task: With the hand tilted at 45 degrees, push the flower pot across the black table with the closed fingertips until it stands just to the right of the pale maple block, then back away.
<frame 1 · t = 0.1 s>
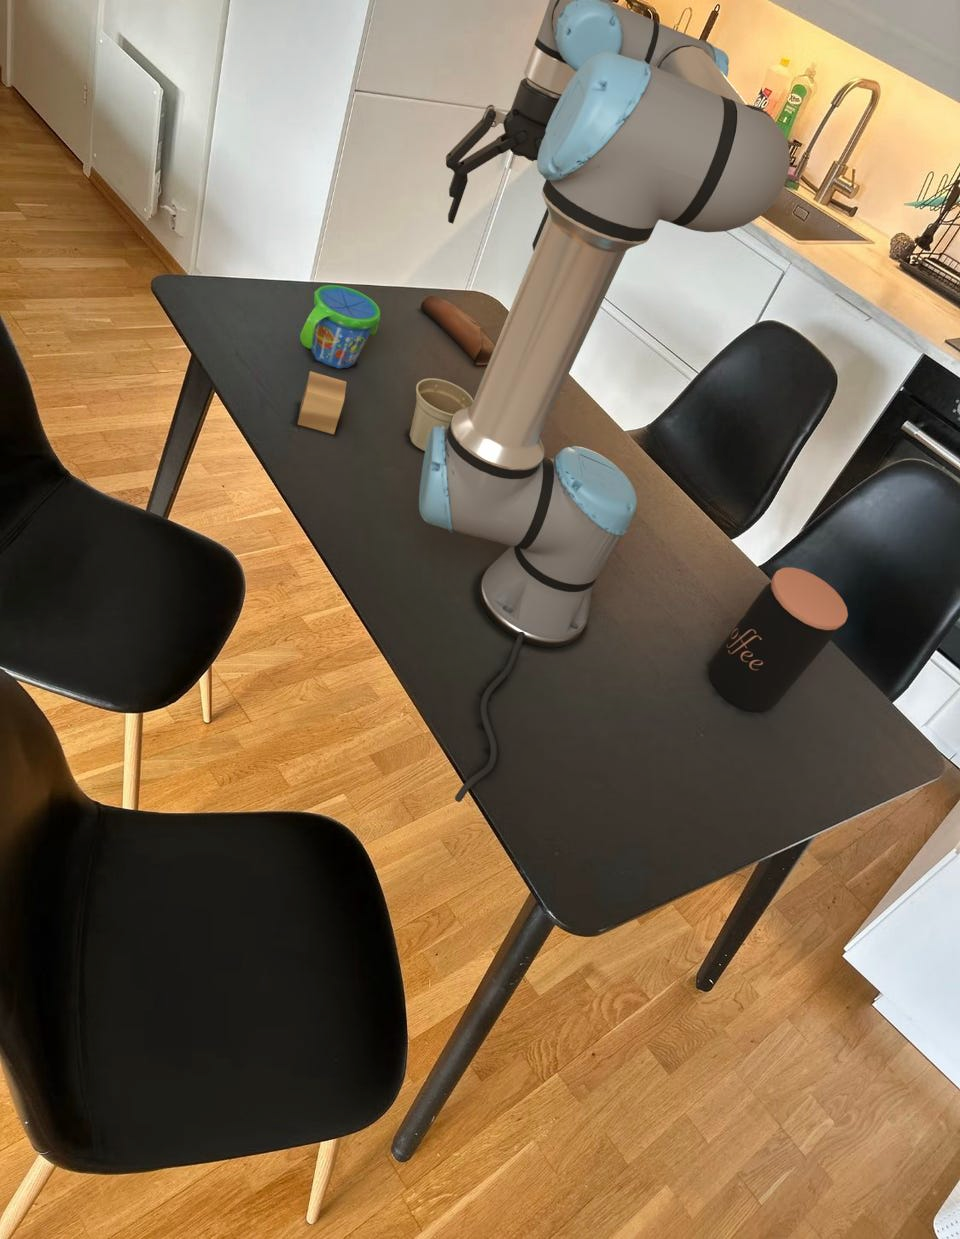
hand: (493, 234, 147), 28 cm above the table, tool pointing down, fingers open, 13 cm apart
flower pot: (428, 443, 153), on the table
sunglasses case: (461, 338, 182), on the table
snack cup: (332, 358, 161), on the table
coffee jar: (738, 687, 137), on the table
maple block: (317, 419, 147), on the table
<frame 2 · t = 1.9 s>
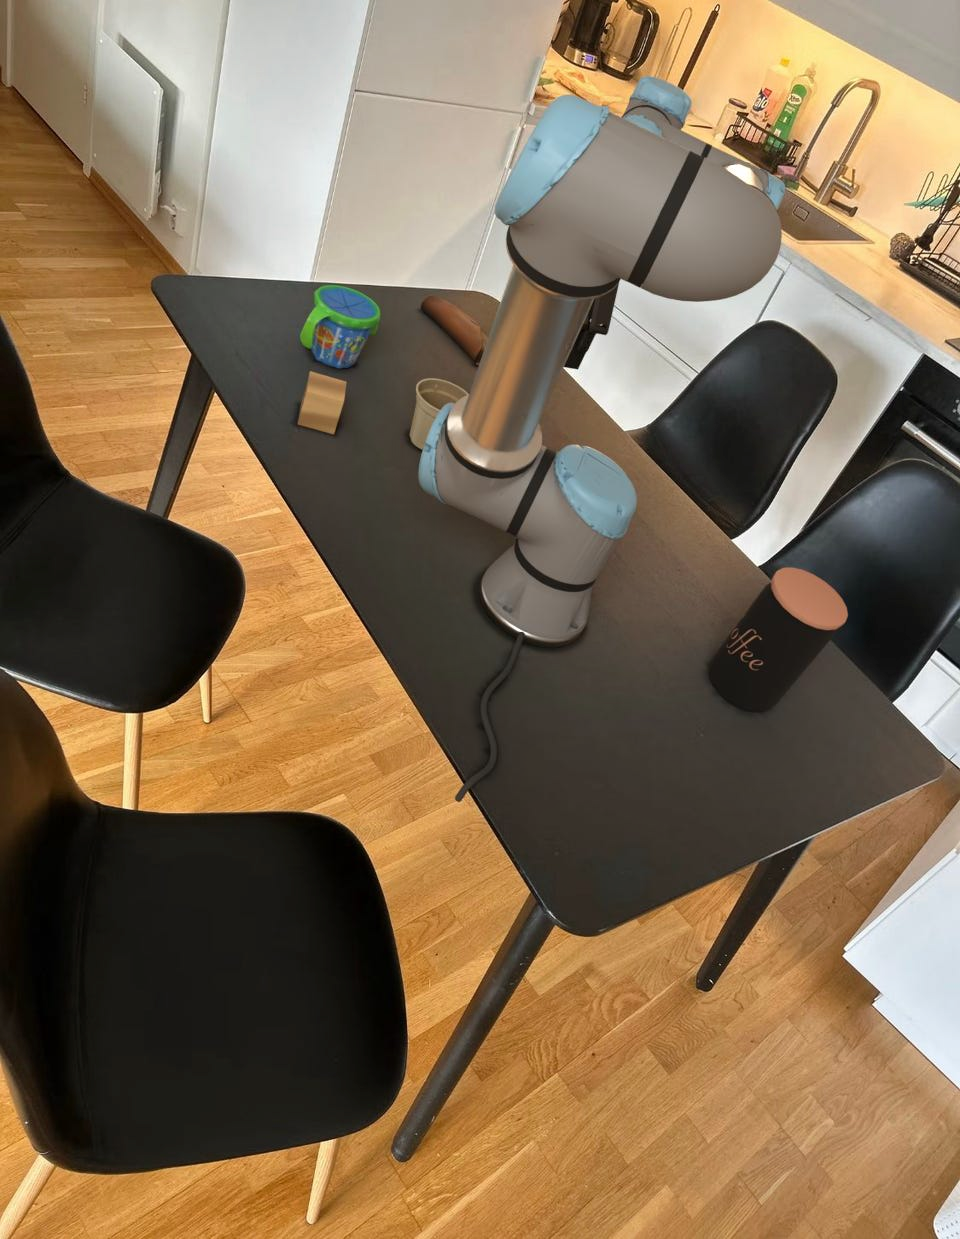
hand: (553, 342, 146), 20 cm above the table, tool pointing down, fingers open, 12 cm apart
nothing on the table moved.
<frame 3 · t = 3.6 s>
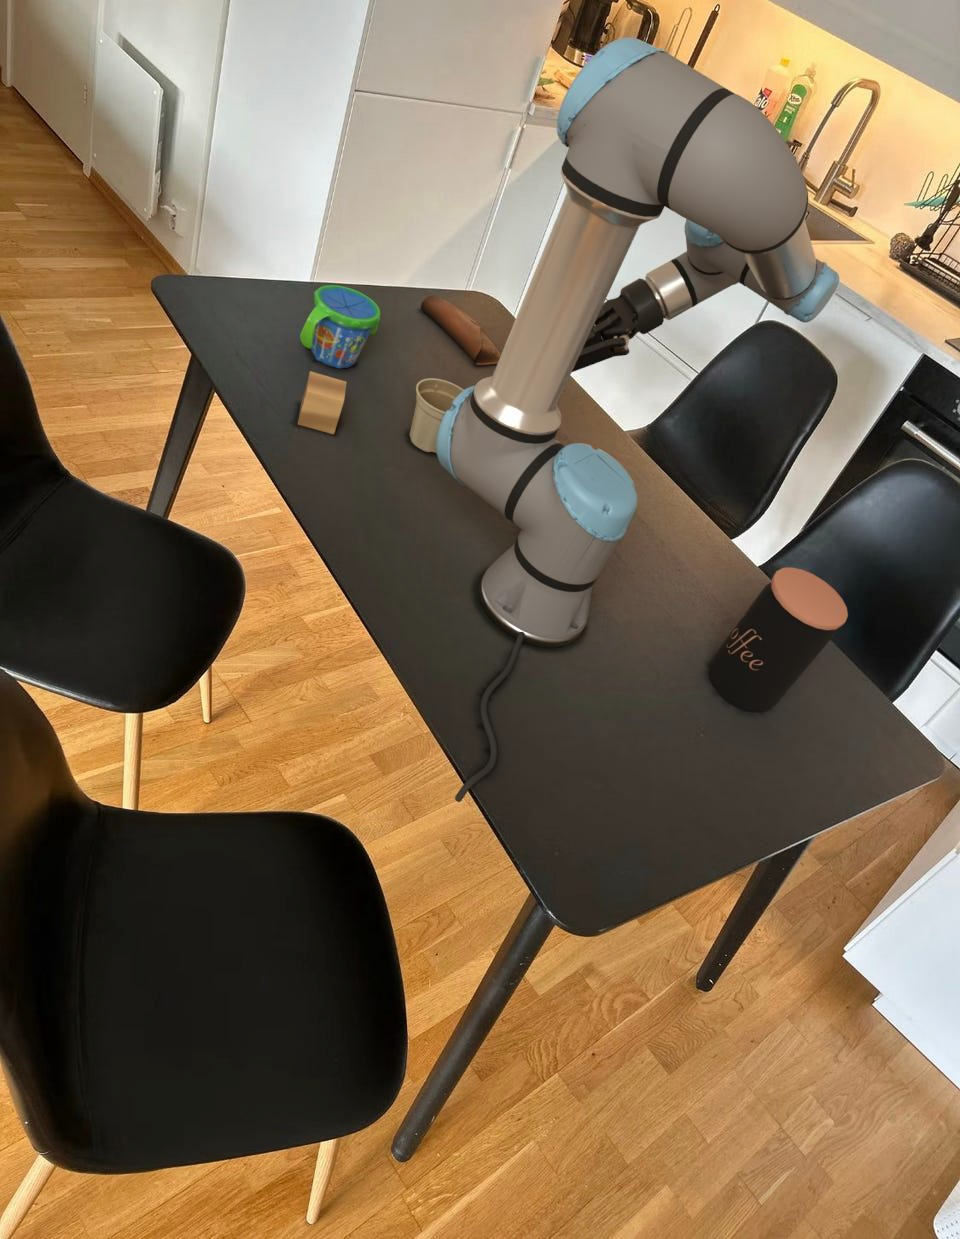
hand: (514, 378, 149), 13 cm above the table, tool tilted 45°, fingers closed
nothing on the table moved.
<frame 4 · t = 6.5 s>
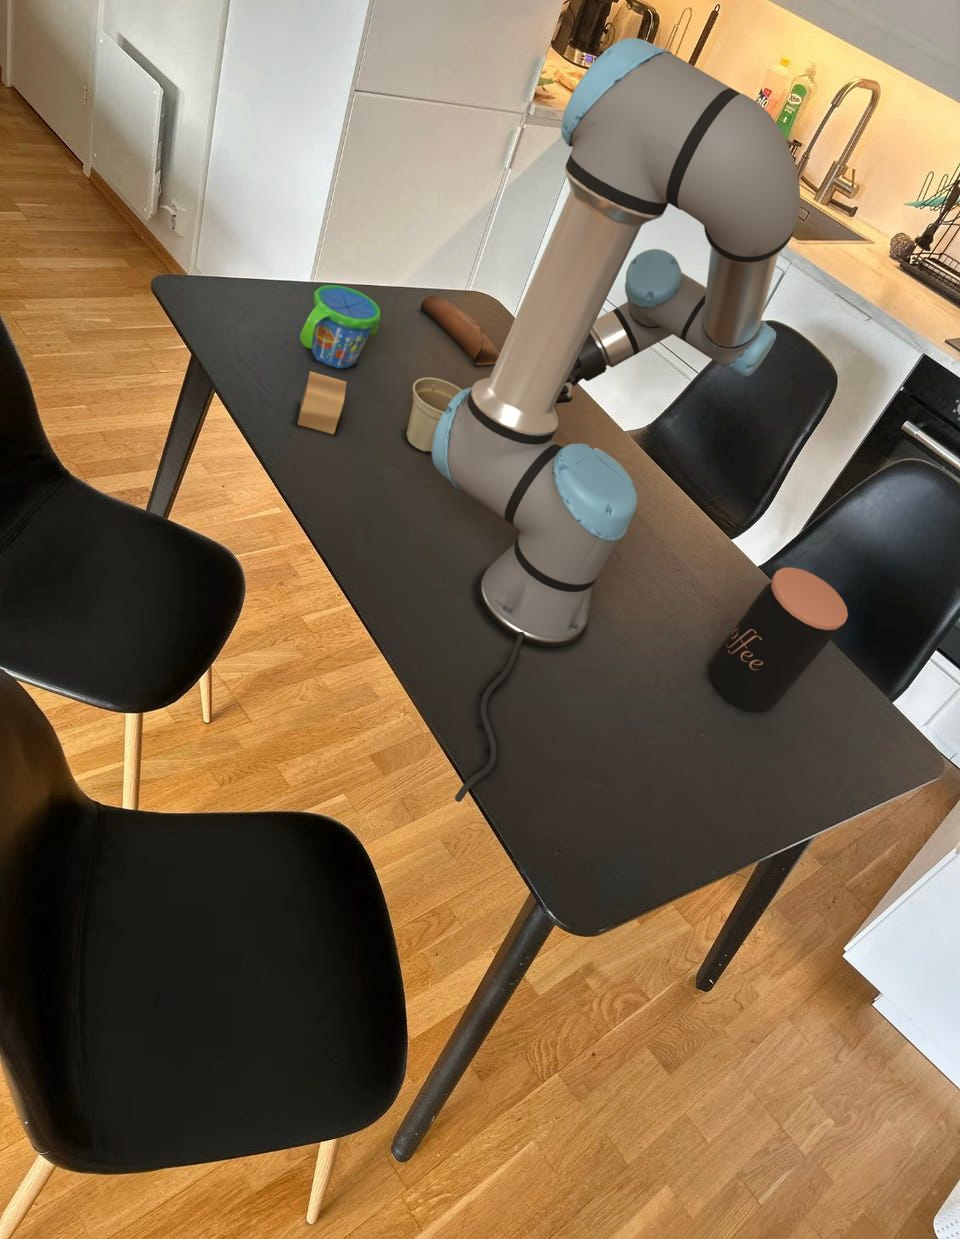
hand: (462, 423, 152), 4 cm above the table, tool tilted 45°, fingers closed
flower pot: (425, 442, 153), on the table, touching gripper
everything else where it was.
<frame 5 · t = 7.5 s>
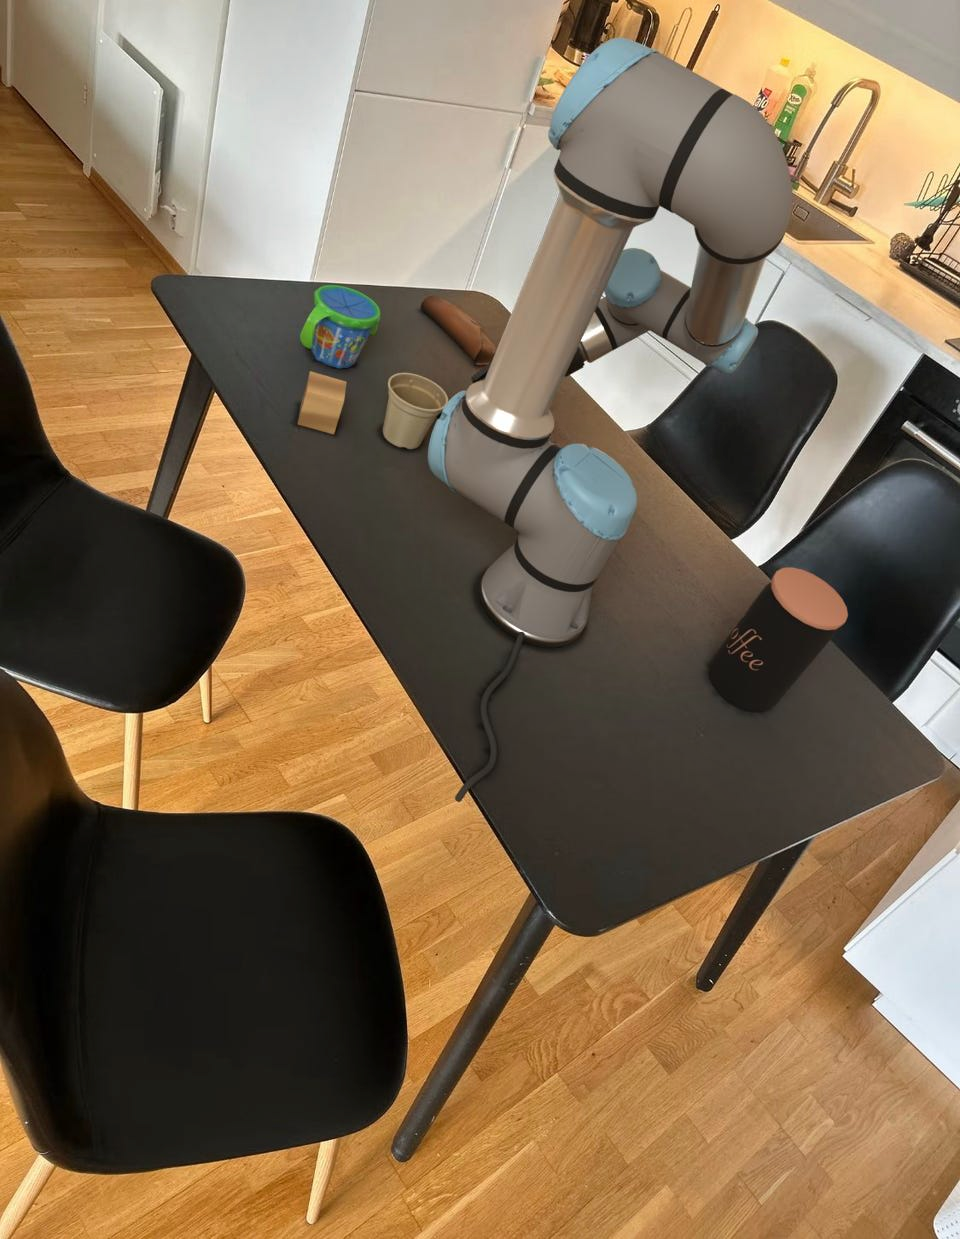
hand: (439, 419, 150), 4 cm above the table, tool tilted 45°, fingers closed
flower pot: (401, 438, 151), on the table, touching gripper
everything else where it was.
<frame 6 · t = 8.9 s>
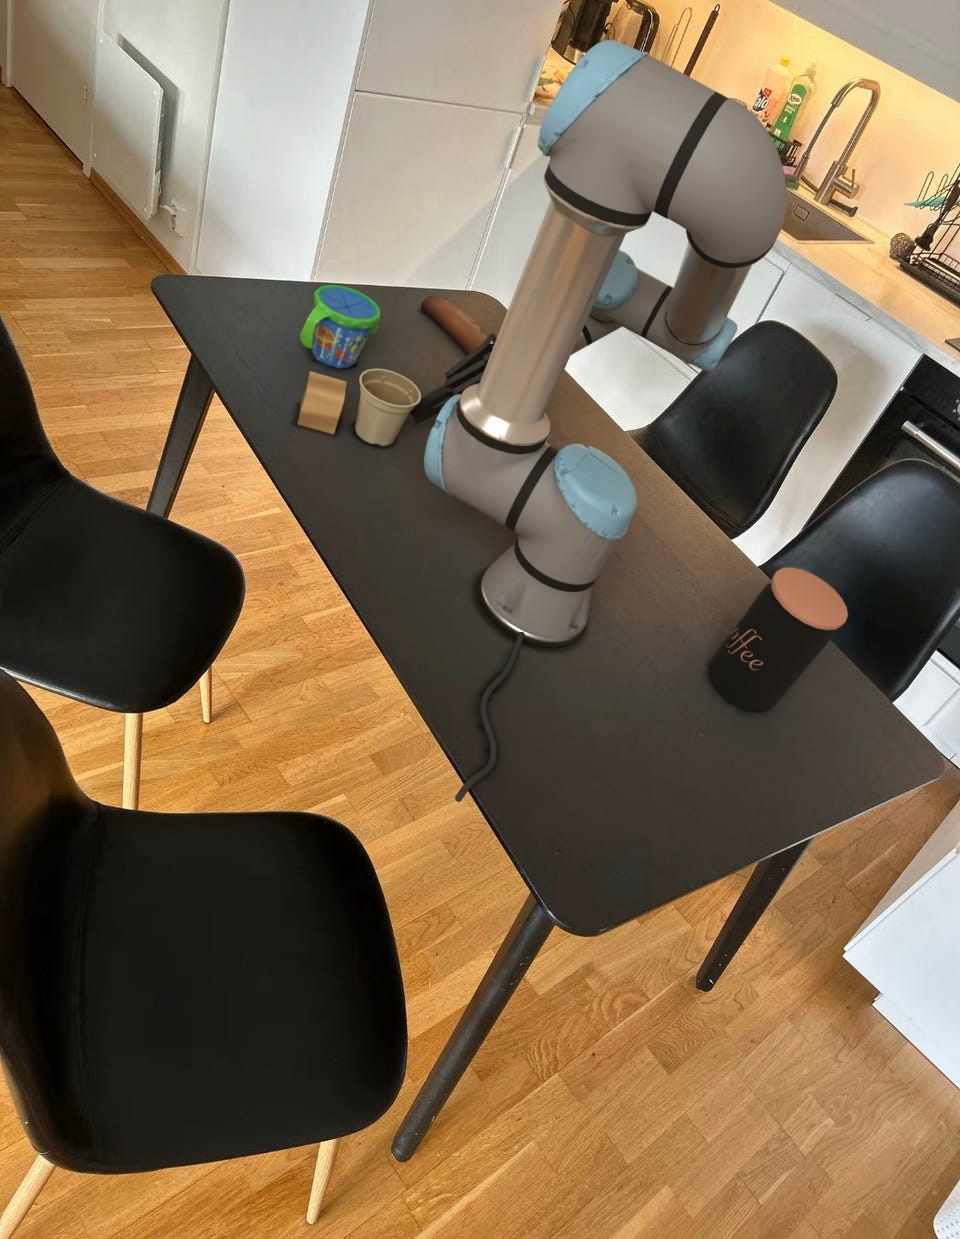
hand: (412, 415, 148), 4 cm above the table, tool tilted 45°, fingers closed
flower pot: (374, 435, 149), on the table, touching gripper
everything else where it was.
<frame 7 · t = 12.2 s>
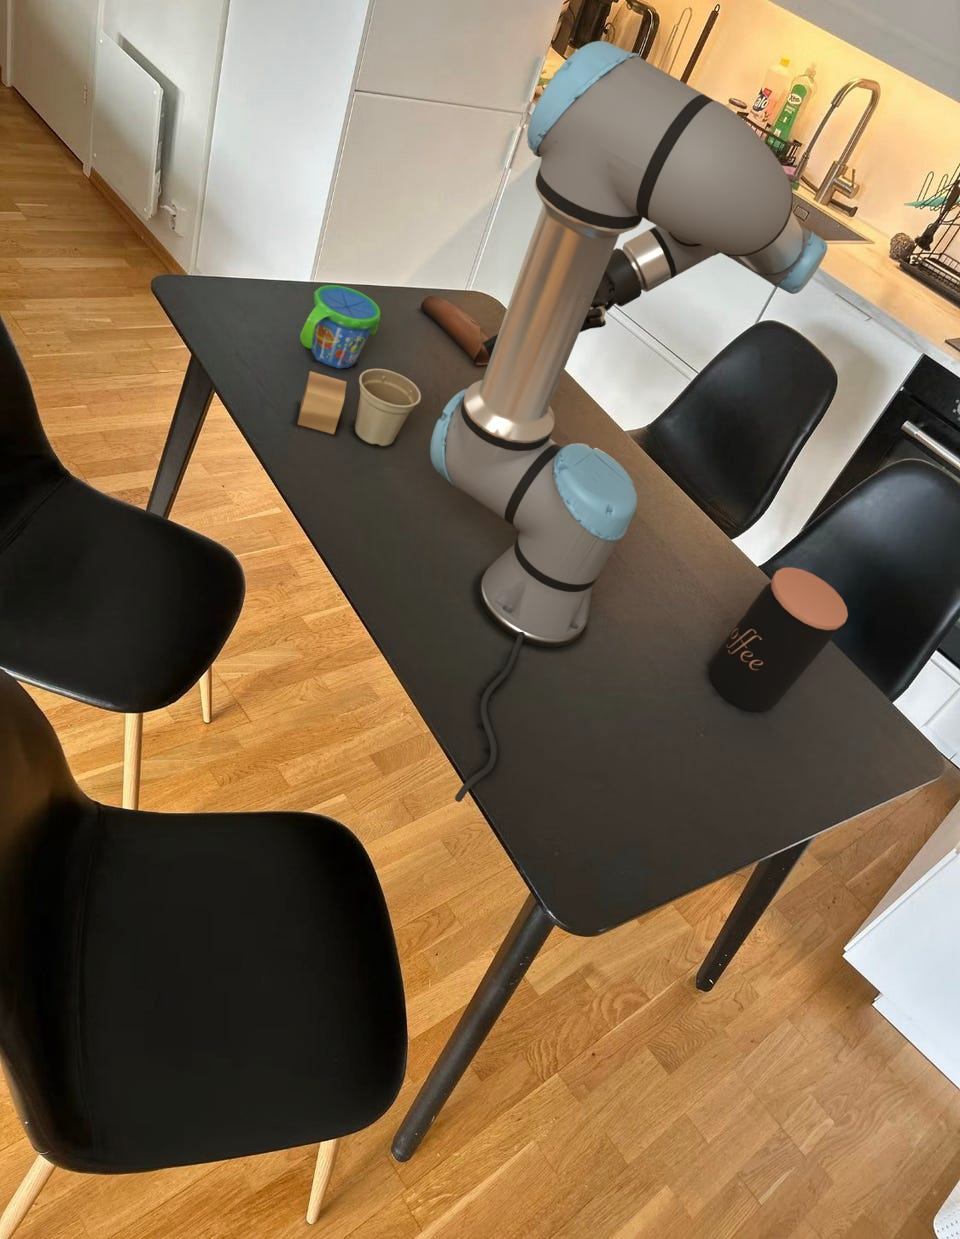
hand: (487, 352, 144), 17 cm above the table, tool tilted 45°, fingers closed
flower pot: (374, 435, 149), on the table
everything else where it was.
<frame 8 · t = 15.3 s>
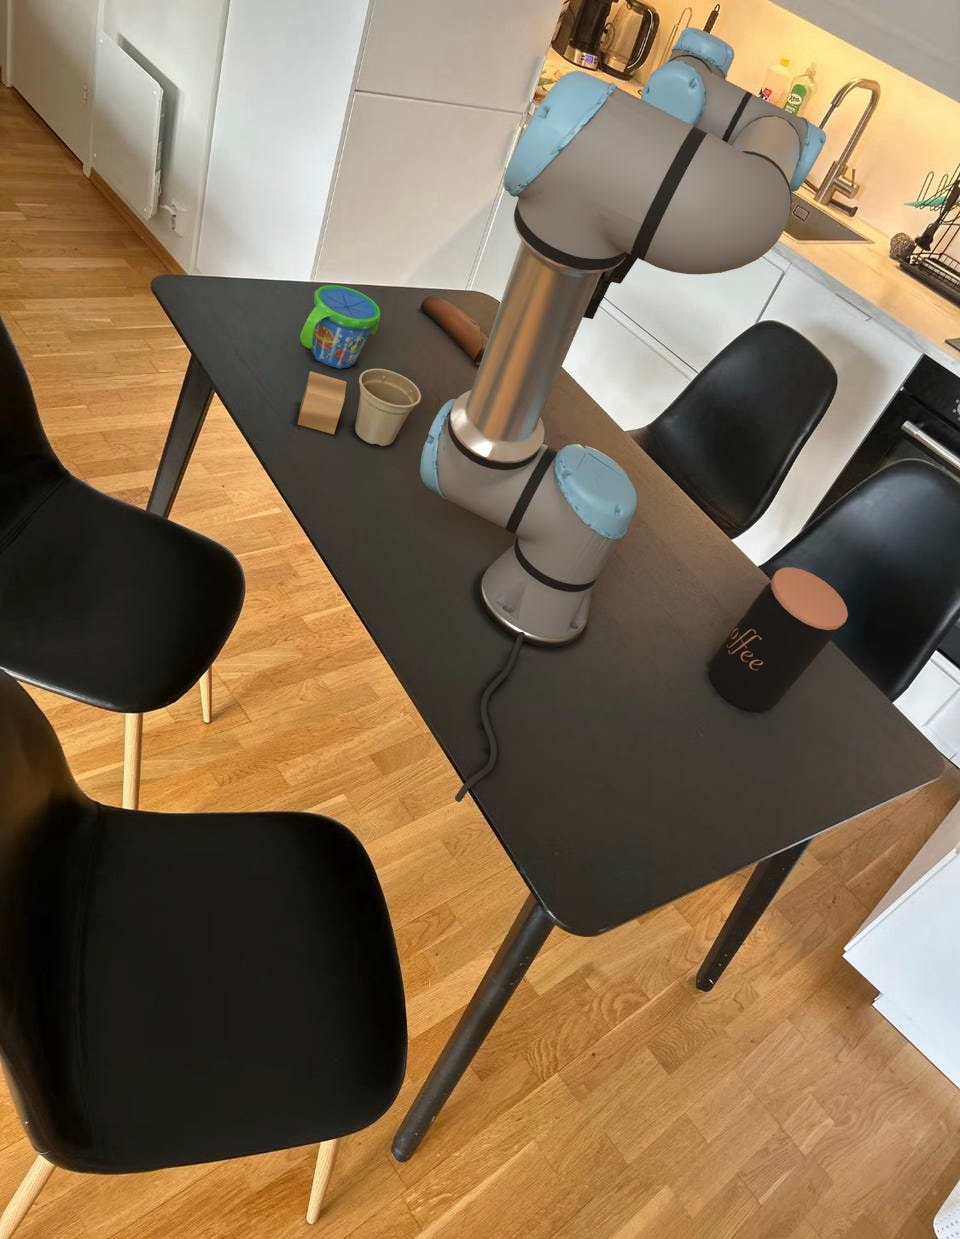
hand: (583, 314, 147), 24 cm above the table, tool pointing down, fingers closed
nothing on the table moved.
at the end: flower pot inside the target area on the table beside the maple block (1.1 cm from its centre), on the table; flower pot tilted 0°; maple block moved 0.0 cm from its start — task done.
